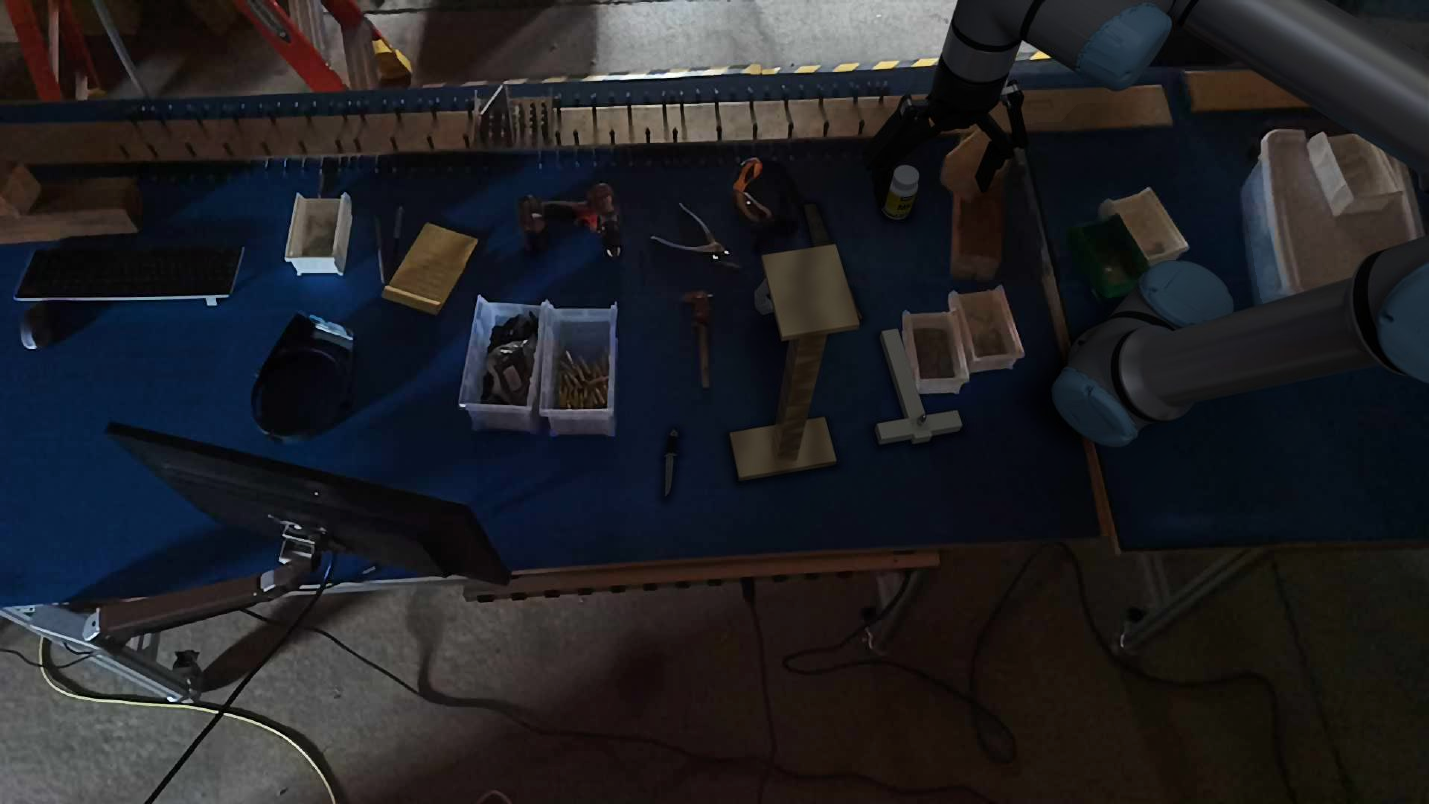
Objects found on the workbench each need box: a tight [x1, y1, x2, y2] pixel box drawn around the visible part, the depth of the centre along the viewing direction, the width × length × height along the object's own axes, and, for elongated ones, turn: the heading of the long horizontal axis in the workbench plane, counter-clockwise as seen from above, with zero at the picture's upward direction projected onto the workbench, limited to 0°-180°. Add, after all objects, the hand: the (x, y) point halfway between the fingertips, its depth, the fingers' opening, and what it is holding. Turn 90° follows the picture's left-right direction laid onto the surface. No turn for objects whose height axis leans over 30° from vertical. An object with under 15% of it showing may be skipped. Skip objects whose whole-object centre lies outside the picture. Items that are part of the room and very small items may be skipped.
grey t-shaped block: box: [874, 328, 963, 445], centre depth 126 cm, size 12×18×5 cm, turn 10°
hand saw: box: [803, 203, 863, 321], centre depth 138 cm, size 24×5×1 cm, turn 15°
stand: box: [729, 243, 861, 482], centre depth 106 cm, size 14×10×40 cm
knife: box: [663, 428, 679, 497], centre depth 122 cm, size 10×2×1 cm, turn 170°
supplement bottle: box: [881, 164, 920, 221], centre depth 139 cm, size 5×5×8 cm
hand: (929, 192), depth 111 cm, fingers open, 13 cm apart
